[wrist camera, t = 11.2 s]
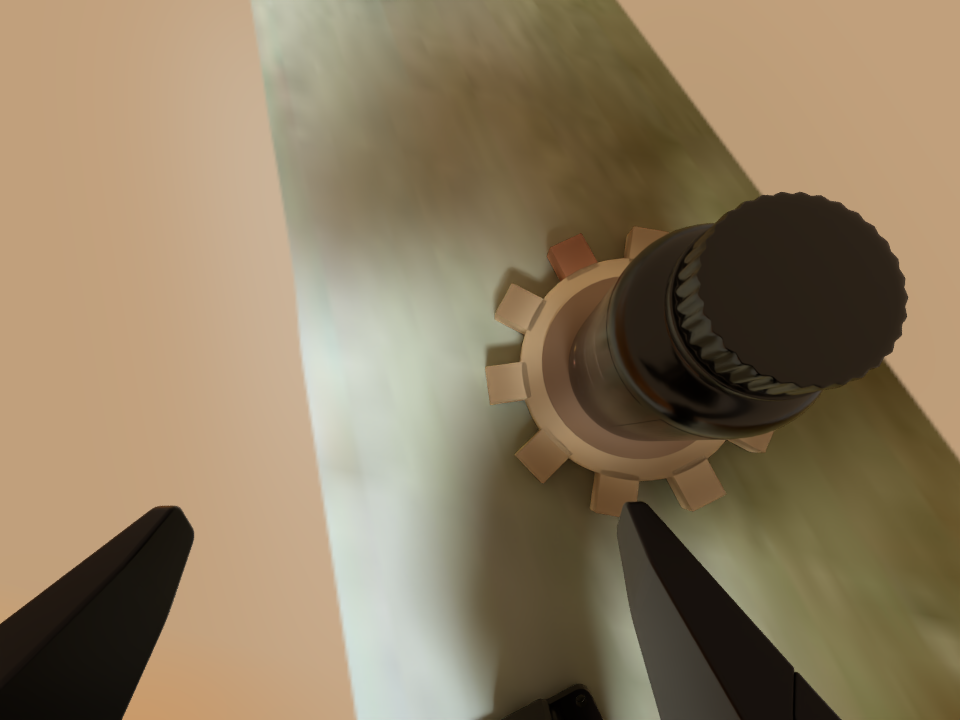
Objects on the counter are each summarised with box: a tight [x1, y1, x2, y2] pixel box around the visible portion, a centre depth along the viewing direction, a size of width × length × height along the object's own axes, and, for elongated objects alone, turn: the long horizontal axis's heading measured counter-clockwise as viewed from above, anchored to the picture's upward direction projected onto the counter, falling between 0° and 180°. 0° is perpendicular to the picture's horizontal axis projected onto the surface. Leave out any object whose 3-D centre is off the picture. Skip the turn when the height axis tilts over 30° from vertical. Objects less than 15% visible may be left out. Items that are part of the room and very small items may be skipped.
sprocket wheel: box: [485, 226, 774, 517], centre depth 23 cm, size 14×14×1 cm
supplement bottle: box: [568, 192, 908, 441], centre depth 16 cm, size 7×7×12 cm
